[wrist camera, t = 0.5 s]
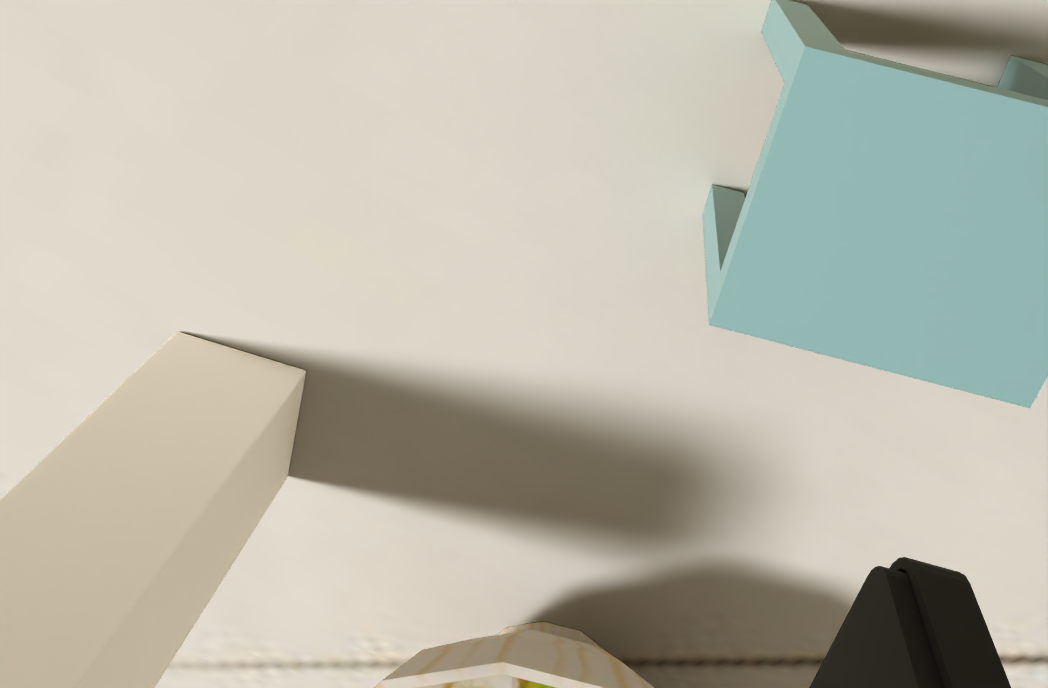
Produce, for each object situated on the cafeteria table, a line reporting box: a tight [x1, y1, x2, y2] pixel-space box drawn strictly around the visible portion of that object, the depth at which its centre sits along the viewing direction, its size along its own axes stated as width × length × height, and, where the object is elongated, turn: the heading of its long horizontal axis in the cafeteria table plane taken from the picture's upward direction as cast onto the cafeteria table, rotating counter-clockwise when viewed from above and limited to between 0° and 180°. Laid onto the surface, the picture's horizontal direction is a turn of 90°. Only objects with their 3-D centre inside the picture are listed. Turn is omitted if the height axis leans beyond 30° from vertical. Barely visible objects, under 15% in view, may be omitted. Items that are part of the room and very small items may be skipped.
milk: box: [0, 332, 306, 688], centre depth 34 cm, size 6×6×22 cm
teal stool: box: [703, 0, 1048, 408], centre depth 30 cm, size 8×9×10 cm
